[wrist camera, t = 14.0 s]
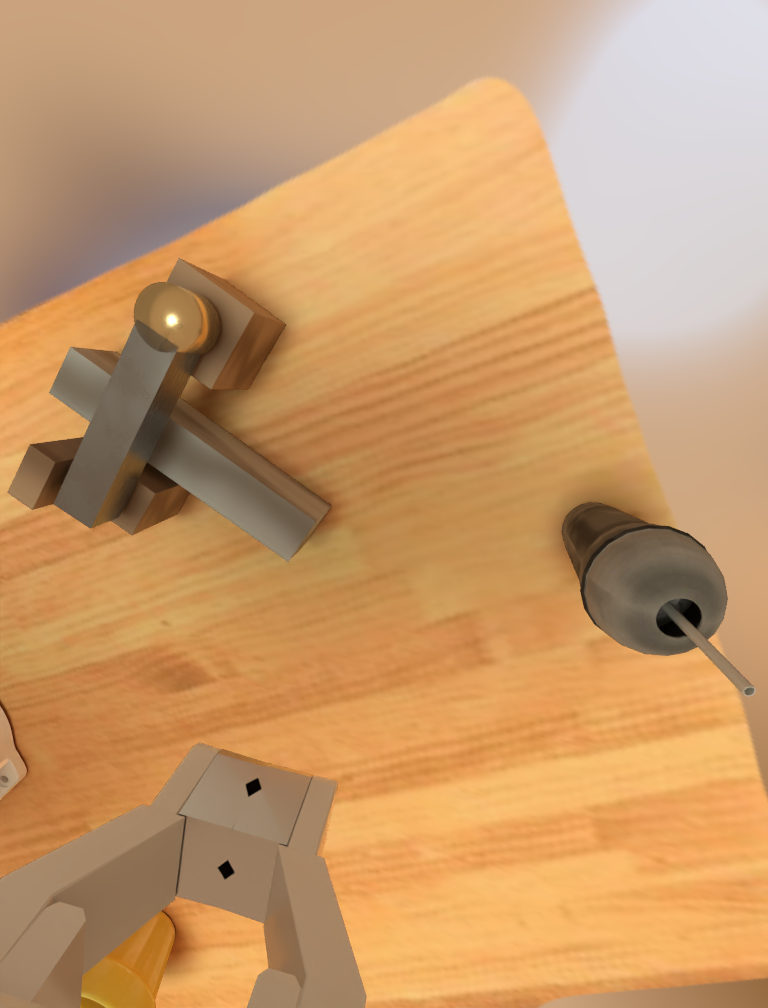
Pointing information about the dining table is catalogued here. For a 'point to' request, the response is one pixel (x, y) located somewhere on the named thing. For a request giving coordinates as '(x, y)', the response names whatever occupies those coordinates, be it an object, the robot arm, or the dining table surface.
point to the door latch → (189, 435)
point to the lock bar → (138, 400)
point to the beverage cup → (648, 584)
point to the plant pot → (131, 969)
